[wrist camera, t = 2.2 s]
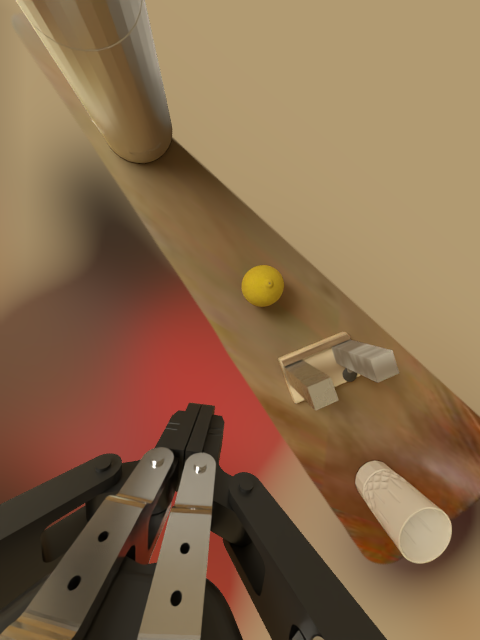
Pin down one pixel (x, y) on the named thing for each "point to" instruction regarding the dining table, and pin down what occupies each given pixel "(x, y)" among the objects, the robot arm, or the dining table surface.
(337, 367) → the gauge board
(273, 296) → the lemon
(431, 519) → the white cup
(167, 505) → the robot arm
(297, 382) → the block
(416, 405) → the dining table surface
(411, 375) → the dining table surface
